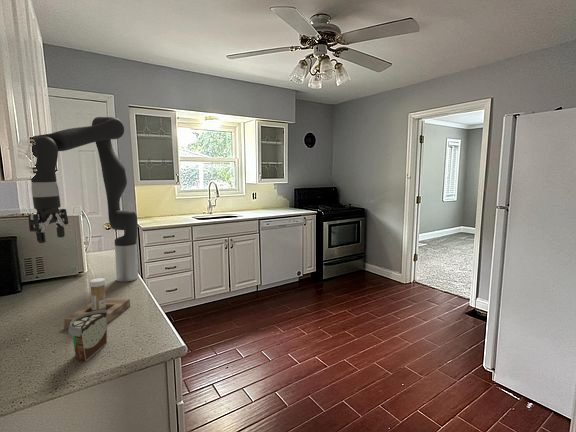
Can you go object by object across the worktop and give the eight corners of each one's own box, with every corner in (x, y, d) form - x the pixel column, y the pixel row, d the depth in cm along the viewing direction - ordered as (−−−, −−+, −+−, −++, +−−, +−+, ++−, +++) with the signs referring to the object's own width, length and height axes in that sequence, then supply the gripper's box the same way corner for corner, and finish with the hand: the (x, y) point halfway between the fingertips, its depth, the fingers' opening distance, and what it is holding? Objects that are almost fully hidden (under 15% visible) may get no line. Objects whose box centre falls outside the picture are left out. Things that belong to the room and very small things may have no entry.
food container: (90, 340, 94) (88, 308, 93) (110, 340, 94) (108, 309, 93) (59, 364, 82) (56, 328, 81) (81, 365, 82) (79, 329, 80)
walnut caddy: (99, 305, 119) (98, 297, 119) (130, 306, 119) (129, 298, 118) (64, 327, 101) (64, 319, 101) (100, 328, 101) (100, 320, 100)
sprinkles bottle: (107, 317, 109) (105, 280, 108) (92, 320, 107) (89, 282, 105) (106, 312, 113) (104, 276, 111) (91, 315, 111) (89, 278, 109)
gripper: (39, 197, 101) (45, 245, 104) (71, 193, 115) (76, 235, 118) (17, 197, 102) (24, 244, 104) (52, 193, 116) (57, 235, 118)
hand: (52, 239), depth 111 cm, fingers open, 8 cm apart
